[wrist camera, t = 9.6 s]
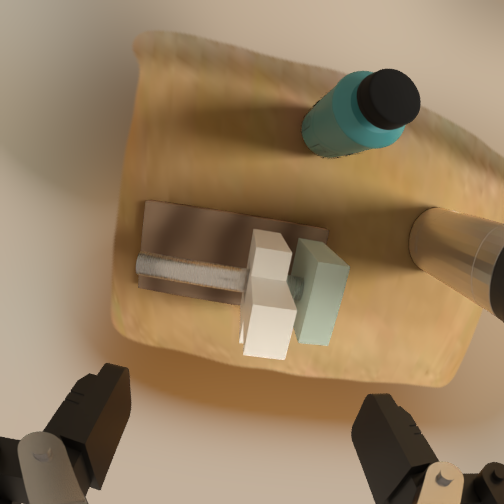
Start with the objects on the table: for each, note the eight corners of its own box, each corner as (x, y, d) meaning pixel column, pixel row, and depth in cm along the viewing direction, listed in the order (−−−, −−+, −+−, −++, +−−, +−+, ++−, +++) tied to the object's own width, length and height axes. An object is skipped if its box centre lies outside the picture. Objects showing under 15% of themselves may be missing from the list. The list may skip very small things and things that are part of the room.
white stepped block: (280, 233, 35) (305, 275, 20) (265, 308, 37) (277, 386, 22) (253, 228, 35) (259, 268, 20) (240, 304, 37) (238, 382, 22)
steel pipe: (315, 273, 33) (321, 282, 30) (309, 298, 33) (314, 309, 31) (144, 245, 32) (136, 252, 29) (142, 272, 32) (134, 280, 30)
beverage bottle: (321, 170, 37) (397, 168, 17) (285, 128, 35) (327, 81, 16) (359, 138, 36) (455, 114, 16) (324, 97, 34) (395, 34, 15)
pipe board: (326, 228, 38) (329, 230, 37) (307, 310, 41) (309, 314, 39) (149, 199, 37) (145, 200, 36) (141, 283, 40) (138, 287, 38)
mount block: (322, 242, 37) (350, 266, 27) (308, 303, 39) (328, 345, 29) (298, 237, 37) (318, 261, 27) (285, 300, 39) (298, 342, 29)
